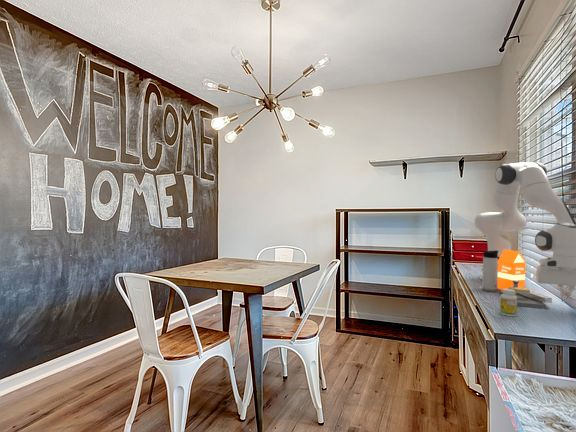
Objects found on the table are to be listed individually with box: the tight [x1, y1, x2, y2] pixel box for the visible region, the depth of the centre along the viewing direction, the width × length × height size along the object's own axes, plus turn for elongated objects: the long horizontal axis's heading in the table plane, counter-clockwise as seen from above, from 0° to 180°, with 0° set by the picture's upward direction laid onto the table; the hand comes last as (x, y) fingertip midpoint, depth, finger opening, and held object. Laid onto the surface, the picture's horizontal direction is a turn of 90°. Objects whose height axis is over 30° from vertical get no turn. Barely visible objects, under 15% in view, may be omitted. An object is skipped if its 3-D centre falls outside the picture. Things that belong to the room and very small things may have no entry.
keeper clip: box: [509, 287, 531, 296], centre depth 149 cm, size 4×7×4 cm, turn 69°
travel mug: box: [482, 250, 499, 293], centre depth 168 cm, size 6×7×20 cm
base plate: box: [499, 289, 547, 310], centre depth 151 cm, size 23×12×2 cm, turn 159°
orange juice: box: [497, 249, 526, 290], centre depth 170 cm, size 8×9×20 cm
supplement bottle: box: [499, 289, 518, 317], centre depth 130 cm, size 5×5×10 cm
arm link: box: [511, 280, 553, 304], centre depth 150 cm, size 21×4×5 cm, turn 4°
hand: (565, 295), depth 138 cm, fingers closed
